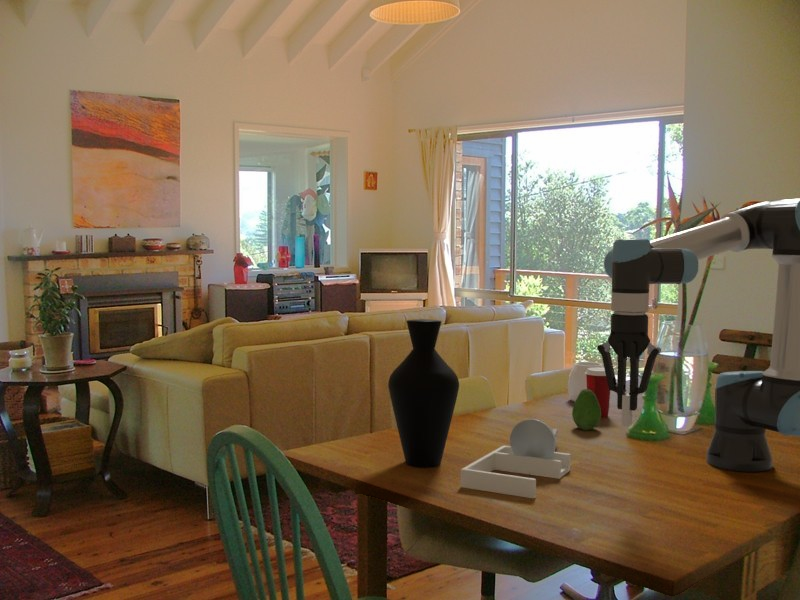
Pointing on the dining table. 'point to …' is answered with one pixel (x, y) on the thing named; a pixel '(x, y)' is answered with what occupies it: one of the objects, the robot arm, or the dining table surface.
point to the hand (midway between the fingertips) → (626, 425)
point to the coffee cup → (599, 388)
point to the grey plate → (533, 439)
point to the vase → (423, 397)
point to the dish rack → (506, 460)
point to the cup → (579, 378)
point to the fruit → (586, 410)
